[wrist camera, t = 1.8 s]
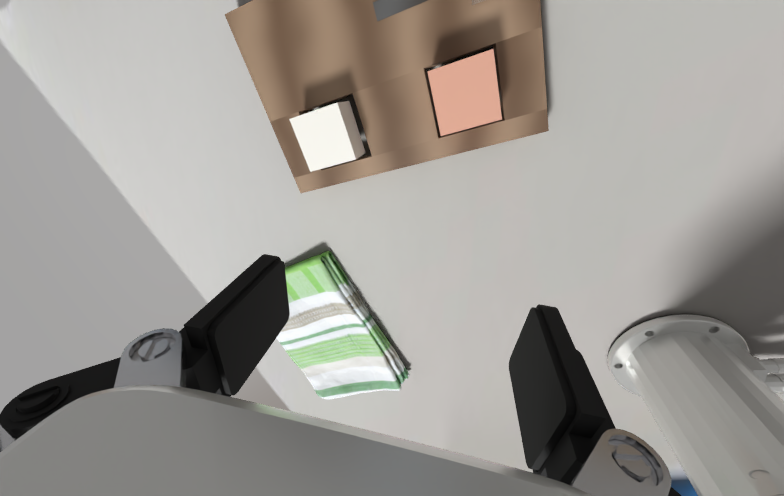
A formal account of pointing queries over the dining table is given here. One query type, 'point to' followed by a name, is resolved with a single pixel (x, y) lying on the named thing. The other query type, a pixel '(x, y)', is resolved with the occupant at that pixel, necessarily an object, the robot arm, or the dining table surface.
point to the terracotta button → (466, 93)
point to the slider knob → (476, 1)
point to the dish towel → (336, 333)
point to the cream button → (328, 136)
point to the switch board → (389, 72)
